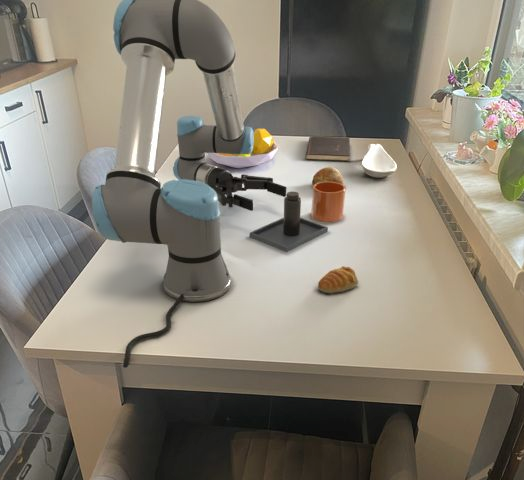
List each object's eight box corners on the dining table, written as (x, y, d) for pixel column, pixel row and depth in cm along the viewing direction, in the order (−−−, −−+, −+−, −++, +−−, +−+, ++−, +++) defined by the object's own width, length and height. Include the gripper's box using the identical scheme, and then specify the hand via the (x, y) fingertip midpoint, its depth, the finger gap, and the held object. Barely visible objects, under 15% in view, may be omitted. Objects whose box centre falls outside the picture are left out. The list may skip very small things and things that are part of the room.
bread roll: (342, 201, 177) (353, 178, 173) (317, 192, 171) (329, 167, 168) (328, 191, 184) (339, 168, 181) (304, 181, 179) (315, 158, 175)
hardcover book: (349, 143, 216) (349, 137, 215) (349, 161, 198) (349, 155, 197) (309, 142, 218) (309, 136, 217) (305, 159, 200) (305, 153, 198)
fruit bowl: (273, 176, 186) (273, 141, 179) (196, 171, 189) (193, 137, 182) (283, 151, 208) (284, 120, 201) (214, 148, 211) (213, 117, 204)
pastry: (330, 299, 121) (332, 284, 119) (310, 287, 125) (311, 272, 123) (360, 286, 126) (361, 271, 123) (339, 275, 130) (340, 260, 127)
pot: (329, 226, 152) (332, 195, 147) (304, 217, 157) (306, 187, 152) (348, 217, 158) (351, 186, 152) (323, 209, 162) (326, 179, 157)
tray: (286, 253, 139) (286, 247, 138) (249, 238, 146) (249, 232, 145) (327, 233, 149) (327, 227, 148) (290, 219, 156) (290, 214, 155)
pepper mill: (292, 237, 145) (293, 198, 138) (279, 233, 147) (280, 193, 141) (302, 232, 148) (304, 193, 141) (290, 228, 150) (291, 189, 143)
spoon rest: (398, 181, 182) (401, 159, 177) (363, 181, 182) (365, 159, 177) (385, 159, 201) (388, 139, 196) (353, 159, 201) (355, 139, 196)
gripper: (244, 181, 169) (297, 199, 157) (184, 204, 154) (237, 225, 142) (244, 157, 164) (298, 173, 153) (181, 178, 149) (236, 197, 138)
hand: (269, 198), depth 148 cm, fingers open, 13 cm apart
